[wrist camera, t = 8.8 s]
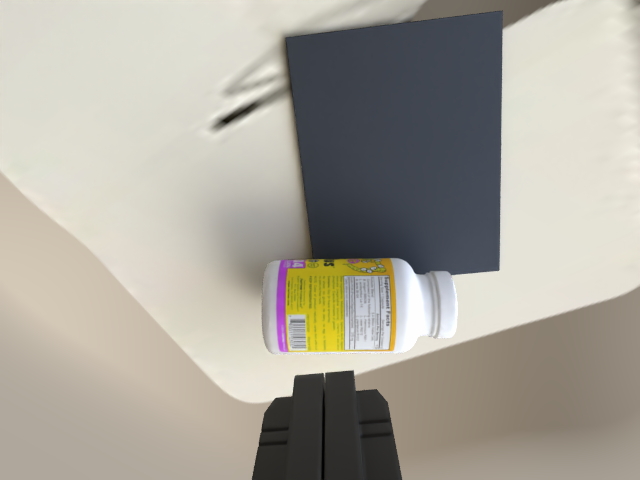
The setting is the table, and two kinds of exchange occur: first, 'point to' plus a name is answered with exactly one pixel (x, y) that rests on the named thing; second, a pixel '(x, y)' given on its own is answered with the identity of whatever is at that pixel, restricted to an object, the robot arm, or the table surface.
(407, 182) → the mat
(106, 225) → the table surface
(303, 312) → the supplement bottle
